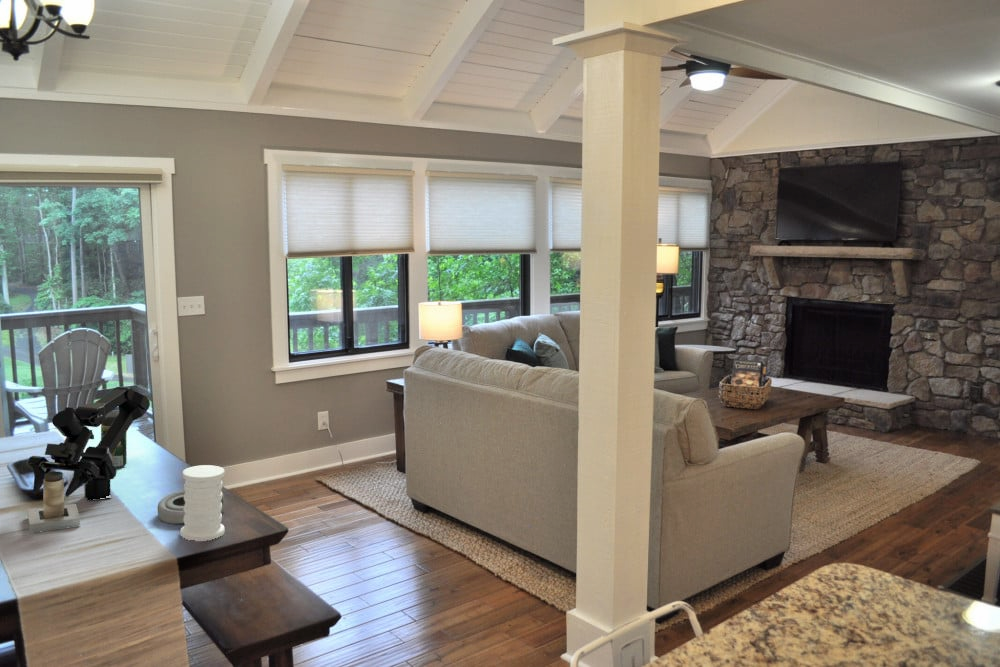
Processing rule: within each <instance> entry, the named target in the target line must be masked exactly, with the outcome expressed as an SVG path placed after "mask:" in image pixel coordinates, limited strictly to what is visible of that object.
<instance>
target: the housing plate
mask: <svg viewBox="0 0 1000 667" xmlns="http://www.w3.org/2000/svg"><path fill="white" fill-rule="evenodd" d="M64 516H65V517H59V518H51V519H44V507H38V508H28V509H27V519H28V520H27V521H28V528H29V534H34V533H35V532H36V533H41V532H40V531H43V532H50V531H49V530H51V531H56V530H55V529H59V530H62V529H61V528H66V529H68V528H67V527H73V526H79V525H80V526H81V517H80V514H79V510H78V506H77V504H76V503H72V504H64ZM47 530H48V531H47Z"/></svg>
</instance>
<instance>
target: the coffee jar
mask: <svg viewBox="0 0 1000 667" xmlns="http://www.w3.org/2000/svg"><path fill="white" fill-rule="evenodd" d="M118 414H119V410H112V411H111V412H109V413H108V414H107V415H106V420H105V421H104V422H103V423H102V424H101V425H100V440H101V439H102V438H103V436H104V435H105V433H106V432H107V430H108V429H109V427H110V426H111V424H112V423H113V421H114V420H115V418H116V417H117V415H118ZM127 452H128V451H127V432H126V433H125V435H124V436H123V438H122V439H121V441H120V443H119V444H118V446H117V447H116V449H115V450H114V452H113V454H112V460H113V463H112V465H113V466H114V467H115V468H116V469H118V468H121V467H125V466H126V465H127V462H128V461H127V460H128V459H127Z"/></svg>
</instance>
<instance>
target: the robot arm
mask: <svg viewBox="0 0 1000 667" xmlns="http://www.w3.org/2000/svg"><path fill="white" fill-rule="evenodd" d="M150 406H151V401H150V399H148V397H147V396H146V395H144V394H142V393H140V392H137V391H135V390H134V389H133V388H131V387H127V386H116V387H115V388H113V389H112V391H110V392H109V393H107V394H106V395H104V396H103V397H101V398H100V399H97V401H95V402H92V403H85V404H82V405H79V406H78V407H76V409H74V408H73V407H69V406H67V407H65V408H64V410H61V411H59V412H57V413H56V414H55V415H54V416H53V417H52V420H51V421H52V422H51V423H52V425H53V426H54V427H55V428H56V430H58V432H59V433H60V434H61V435H62V436H64V437H65V439H64V440H63V442H60V443H59V444H58V443H47V444H46V448H45V452H44V455H45V456H50V459H51V460H53V461H49V460H48V459H47V458H46V457H45V456H38V455H31V456H30V457H29V458H28V459H27V461H26V465H27V466H28V467H29V468H30V469H31V471H33V476H34V478H33V490H32V492H33V493H34V494H35V495H36V494H37V493H38V492H39V491H40V489H41V488H42V487H43V480H44V475H45V474H46V473H49V472H51V470H58V471H69V472H73V476H72V478H71V480H70V482H69V485H68V486H67V489H66V491H65V492H64V497H67V498H68V497H70V496H71V495H72V494H73V493H75V492H76V491H77V490H78V489H80V488H81V487H82V486H83V485H84V489H83V490H84V493H83V494H84V497H85V498H86V500H87V501H88V500H92V501H94V500H93V499H100V498H106V496H109V495H111V480H114V479H115V477H116V475H117V470H118V468H115V467H114V466H113V465H112V463H113V460H112V454H113V452H114V450H115V449H116V447H117V446H118V444H119V443H120V441H121V439H122V438H123V436H124V435H125V433H126V434H127V432H128V430H129V428H130V427H131V426H132V423H133V422H134V421H136V420H139V419H140V418H142V417H143V416H144V415H145V413H147V411H148V410H149V408H150ZM117 408H118V411H119V414H118V415H117V417H116V418H115V420H114V421H113V423H112V424H111V426H110V427H109V429H108V430H107V432H106V433H105V435H104V436H103V438H102V439H101V438H100V441H99V443H98V444H97V446H88V447H87V448H86V446H87V445H88V442H89V440H95V434H93V429H89V427H92V428H98V427H101V424H102V423H103V422H104V421H105V420H106V415H107V414H108V413H109V412H111V411H115V409H117ZM111 496H112V495H111Z"/></svg>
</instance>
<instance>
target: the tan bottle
mask: <svg viewBox="0 0 1000 667" xmlns="http://www.w3.org/2000/svg"><path fill="white" fill-rule="evenodd" d="M63 476H64V475H63V472H62V471H50V472H48V473H46V474H45V475H44V480H43V485H42V487H43V488H42V489H43V490H42V492H43V493H42V495H43V497H42V499H43V502H42V503H43V505H42V506H43V508H44V519H51V518H59V517H64V505H65V479H64V478H65V477H63Z"/></svg>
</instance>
